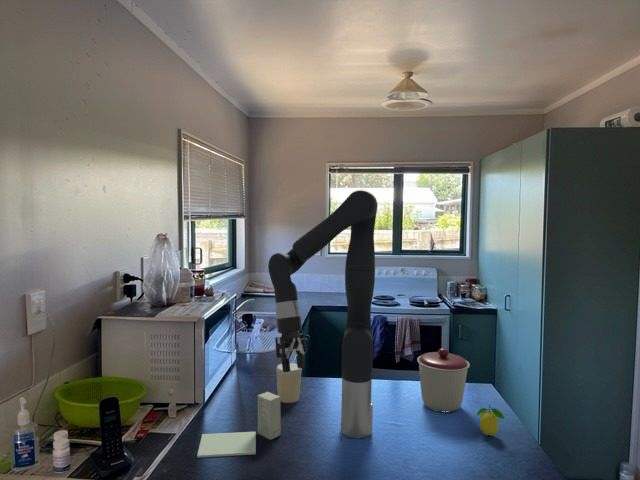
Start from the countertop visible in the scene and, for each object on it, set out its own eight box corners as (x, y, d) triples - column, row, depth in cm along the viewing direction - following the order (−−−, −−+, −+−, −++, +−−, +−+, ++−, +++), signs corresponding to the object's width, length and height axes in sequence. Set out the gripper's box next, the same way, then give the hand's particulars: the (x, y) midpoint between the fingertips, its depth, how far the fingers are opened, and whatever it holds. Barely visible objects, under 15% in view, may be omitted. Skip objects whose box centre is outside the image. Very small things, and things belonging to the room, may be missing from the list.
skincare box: (281, 435, 135) (281, 396, 134) (270, 440, 132) (270, 400, 131) (267, 428, 139) (268, 390, 139) (256, 433, 136) (257, 394, 135)
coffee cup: (297, 392, 168) (297, 361, 168) (304, 402, 160) (304, 369, 159) (273, 395, 165) (273, 363, 165) (279, 405, 157) (279, 372, 156)
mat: (255, 433, 136) (255, 431, 136) (255, 454, 124) (255, 452, 124) (202, 436, 134) (202, 434, 134) (197, 457, 122) (197, 455, 122)
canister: (405, 404, 159) (407, 347, 158) (434, 392, 171) (436, 338, 170) (449, 423, 146) (451, 360, 145) (477, 408, 158) (480, 350, 156)
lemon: (503, 440, 135) (505, 408, 134) (486, 441, 134) (487, 409, 133) (491, 430, 141) (493, 399, 141) (474, 431, 140) (476, 400, 140)
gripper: (286, 316, 130) (292, 372, 127) (309, 314, 143) (315, 365, 140) (265, 319, 134) (271, 374, 131) (290, 317, 146) (295, 367, 143)
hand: (294, 369), depth 135 cm, fingers open, 8 cm apart
